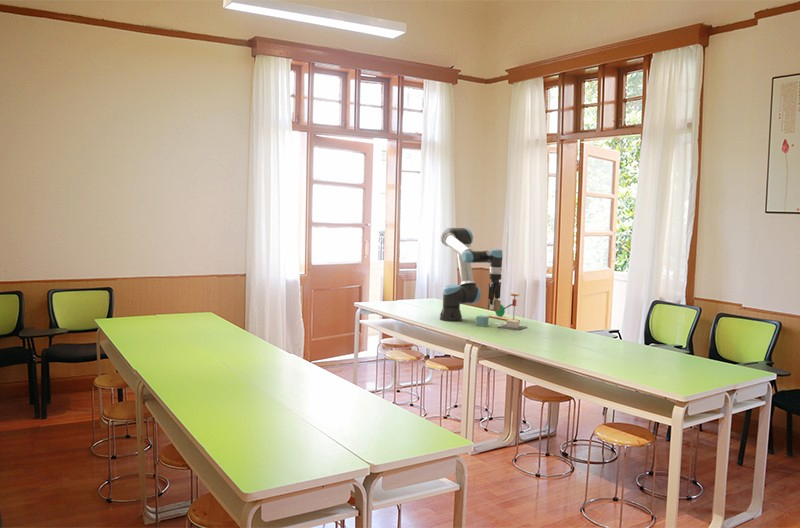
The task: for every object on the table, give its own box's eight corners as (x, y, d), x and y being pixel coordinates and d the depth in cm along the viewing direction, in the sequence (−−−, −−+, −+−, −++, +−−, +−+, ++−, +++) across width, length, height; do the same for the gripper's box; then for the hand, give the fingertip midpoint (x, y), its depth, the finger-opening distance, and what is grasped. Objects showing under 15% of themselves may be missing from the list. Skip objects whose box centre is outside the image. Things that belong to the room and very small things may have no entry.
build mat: (498, 327, 426) (498, 320, 425) (507, 324, 437) (507, 318, 437) (518, 330, 418) (518, 323, 418) (527, 327, 430) (527, 320, 429)
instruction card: (493, 324, 438) (493, 323, 438) (498, 323, 444) (498, 322, 444) (507, 326, 432) (507, 325, 432) (511, 324, 438) (511, 324, 438)
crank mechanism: (521, 322, 451) (522, 294, 450) (514, 322, 447) (515, 294, 446) (494, 316, 471) (495, 289, 469) (488, 317, 467) (489, 290, 465)
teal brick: (476, 325, 432) (476, 316, 432) (480, 324, 437) (480, 315, 437) (484, 326, 429) (484, 317, 428) (488, 325, 434) (488, 316, 434)
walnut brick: (487, 309, 428) (487, 300, 427) (491, 308, 432) (491, 299, 432) (496, 310, 424) (496, 301, 424) (500, 309, 429) (500, 300, 428)
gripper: (494, 275, 416) (492, 311, 418) (506, 272, 431) (505, 307, 434) (483, 273, 420) (482, 309, 423) (496, 271, 436) (494, 306, 438)
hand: (493, 308), depth 428 cm, fingers closed on walnut brick, 5 cm apart
